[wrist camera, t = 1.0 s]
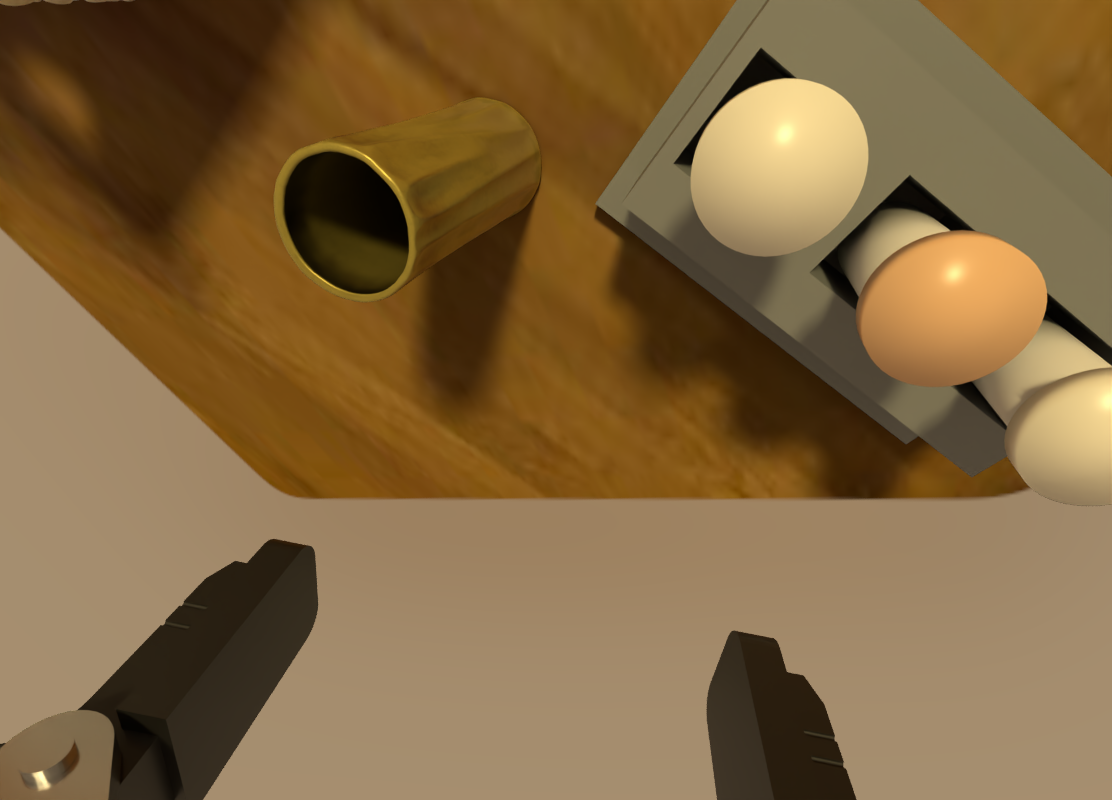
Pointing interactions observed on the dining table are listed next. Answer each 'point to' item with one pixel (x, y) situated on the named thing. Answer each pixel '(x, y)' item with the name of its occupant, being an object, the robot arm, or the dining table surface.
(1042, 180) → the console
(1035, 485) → the knob far
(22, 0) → the storage basket
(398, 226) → the vase
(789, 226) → the knob near
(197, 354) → the dining table surface
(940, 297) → the knob mid
